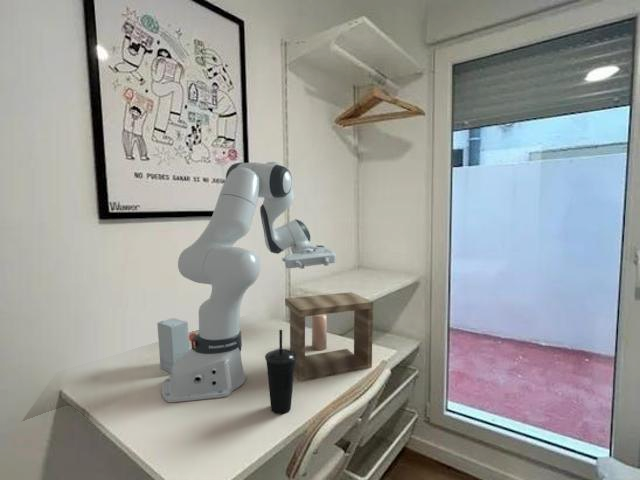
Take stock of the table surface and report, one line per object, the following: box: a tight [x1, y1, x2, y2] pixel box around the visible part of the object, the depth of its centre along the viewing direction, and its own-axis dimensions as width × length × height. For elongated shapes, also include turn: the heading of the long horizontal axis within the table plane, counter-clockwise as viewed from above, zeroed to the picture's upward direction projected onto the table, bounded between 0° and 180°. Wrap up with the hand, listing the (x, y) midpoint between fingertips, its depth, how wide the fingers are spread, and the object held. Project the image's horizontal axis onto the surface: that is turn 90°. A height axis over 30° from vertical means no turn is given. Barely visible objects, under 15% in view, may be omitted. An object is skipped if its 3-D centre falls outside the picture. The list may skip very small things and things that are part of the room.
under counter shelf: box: [284, 291, 374, 382], centre depth 110 cm, size 24×14×21 cm, turn 113°
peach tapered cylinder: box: [311, 314, 328, 351], centre depth 124 cm, size 5×5×12 cm
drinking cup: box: [264, 329, 296, 415], centre depth 85 cm, size 8×8×20 cm
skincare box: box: [156, 317, 190, 374], centre depth 107 cm, size 8×6×15 cm
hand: (314, 265), depth 131 cm, fingers open, 8 cm apart
